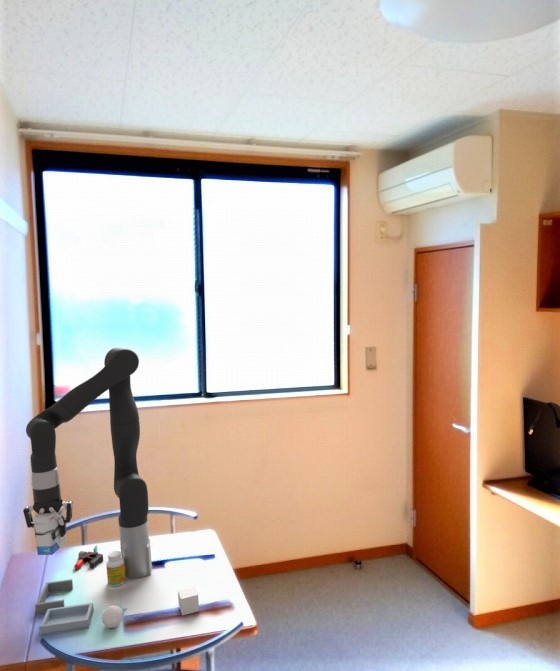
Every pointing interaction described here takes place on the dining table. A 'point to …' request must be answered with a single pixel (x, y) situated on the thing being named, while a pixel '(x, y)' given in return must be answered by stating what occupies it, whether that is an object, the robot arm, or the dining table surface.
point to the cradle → (50, 587)
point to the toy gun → (89, 558)
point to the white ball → (112, 616)
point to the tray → (67, 619)
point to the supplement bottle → (115, 569)
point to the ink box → (48, 533)
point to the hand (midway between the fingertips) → (51, 537)
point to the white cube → (188, 600)
